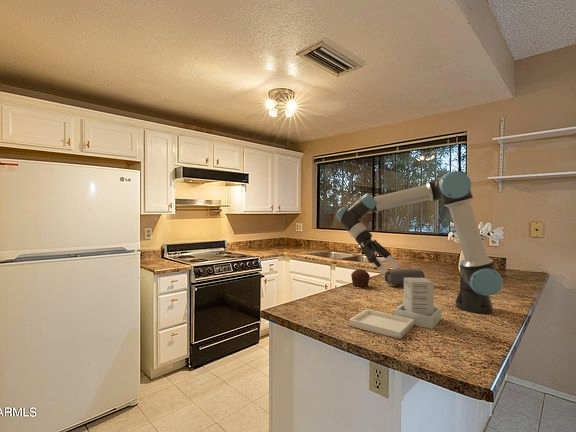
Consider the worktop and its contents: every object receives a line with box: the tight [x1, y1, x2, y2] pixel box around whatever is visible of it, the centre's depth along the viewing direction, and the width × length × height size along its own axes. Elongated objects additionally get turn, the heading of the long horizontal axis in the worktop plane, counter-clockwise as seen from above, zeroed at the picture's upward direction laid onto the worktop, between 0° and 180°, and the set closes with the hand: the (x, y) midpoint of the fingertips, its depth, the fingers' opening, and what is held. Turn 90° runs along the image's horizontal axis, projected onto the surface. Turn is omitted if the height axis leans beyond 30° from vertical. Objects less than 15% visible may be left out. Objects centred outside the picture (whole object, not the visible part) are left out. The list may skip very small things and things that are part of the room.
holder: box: [393, 302, 443, 330], centre depth 129 cm, size 15×15×4 cm
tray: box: [348, 308, 415, 340], centre depth 121 cm, size 20×17×2 cm
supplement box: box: [403, 277, 435, 316], centre depth 129 cm, size 10×9×17 cm
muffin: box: [350, 268, 371, 289], centre depth 186 cm, size 12×11×10 cm
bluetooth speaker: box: [384, 268, 426, 287], centre depth 189 cm, size 23×9×10 cm, turn 105°
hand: (391, 270), depth 136 cm, fingers open, 13 cm apart
